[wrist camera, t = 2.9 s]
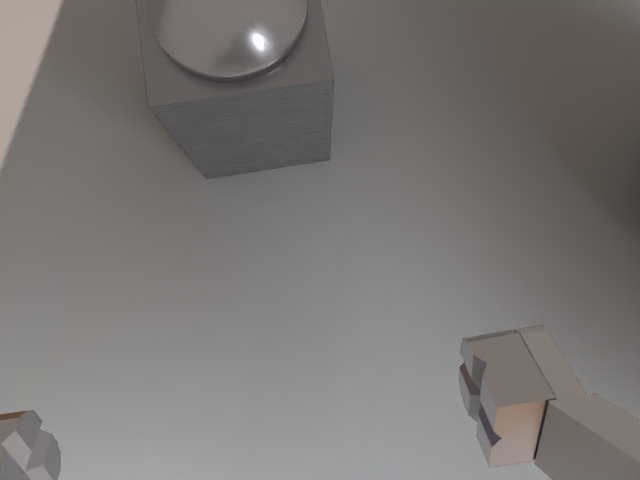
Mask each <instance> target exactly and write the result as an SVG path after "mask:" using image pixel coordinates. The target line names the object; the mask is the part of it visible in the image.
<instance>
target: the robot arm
mask: <svg viewBox="0 0 640 480" xmlns="http://www.w3.org/2000/svg"><path fill="white" fill-rule="evenodd" d="M460 353H461V355H462V358H463V360H464V363H463V364H462V365H461V366H460V367H459V383H460V390H461V395H462V398H463V402H464V405H465V407H466V410H467V413H468V415H469V416H470V417H472V418H473V419H474V420H476V421H477V422H478V424H477V435H476V436H477V438H478V441H479V443H480V446H481V448H482V451H483V453H484V456H485V458H486V461H487V463H488V466H489V468H491V467H498V466H505V465H512V464H519V463H526V462H533V461H535V463H534V464H535V465H537V466H538V467H539V468H540V469H541V470H542V471H543V472H544V473H546V474H547V475H548V476H549V477H550V478H551V479H552V480H640V420H638V419H636V418H635V417H633V416H632V415H630V414H628V413H627V412H625V411H623V410H622V409H620V408H618V407H617V406H615V405H614V404H612V403H610V402H609V401H607V400H605V399H604V398H602V397H600V396H599V395H597V394H595V393H593V394H586V392H585V390H584V389H583V387H582V386H581V384H580V382H579V381H578V379H577V378H576V376H575V374H574V373H573V371H572V370H571V368H570V366H569V365H568V363H567V362H566V360H565V358H564V357H563V355H562V354H561V352H560V351H559V349H558V347H557V346H556V344H555V343H554V341H553V339H552V338H551V336H550V335H549V333H548V331H547V330H546V329H545V328H544V327H542V326H535V327H529V328H523V329H517V330H508V331H503V332H497V333H491V334H486V335H480V336H474V337H469V338H463V340H462V342H461V348H460ZM41 423H42V420H41V418H40V417H39V416H38V415H37V413H36V412H35V411H34V410H31V411H22V412H15V413H8V414H0V480H58V476H59V473H60V465H61V453H60V449H59V446H58V443H57V441H56V440H55V438H54V437H53V435H52V434H50V433H47V432H45V431H43V430H41V429H40V426H41Z"/></svg>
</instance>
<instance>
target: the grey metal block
mask: <svg viewBox="0 0 640 480" xmlns="http://www.w3.org/2000/svg"><path fill="white" fill-rule="evenodd" d="M136 7H137V15H138V24H139V32H140V41H141V49H142V58H143V66H144V75H145V83H146V91H147V100H148V107H149V108H150V109H151V111H152V112H153V113H154V114H155V116H156V117H157V118H158V119H159V121H160V122H161V123H162V124H163V125H164V127H165V128H166V129H167V130H168V132H169V133H170V134H171V135H172V137H173V138H174V139H175V140H176V141H177V143H178V144H179V145H180V146H181V148H182V149H183V150H184V151H185V153H186V154H187V155H188V156H189V157H190V159H191V160H192V161H193V162H194V164H195V165H196V166H197V167H198V168H199V170H200V171H201V172H202V173H203V175H204V176H205V177H206V178H207V179H209V178H216V177H222V176H228V175H235V174H241V173H248V172H254V171H261V170H267V169H274V168H280V167H287V166H293V165H300V164H306V163H313V162H319V161H325V160H330V141H331V121H332V101H333V81H334V78H333V72H332V66H331V61H330V55H329V49H328V43H327V37H326V31H325V26H324V20H323V14H322V8H321V2H320V0H136Z"/></svg>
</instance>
